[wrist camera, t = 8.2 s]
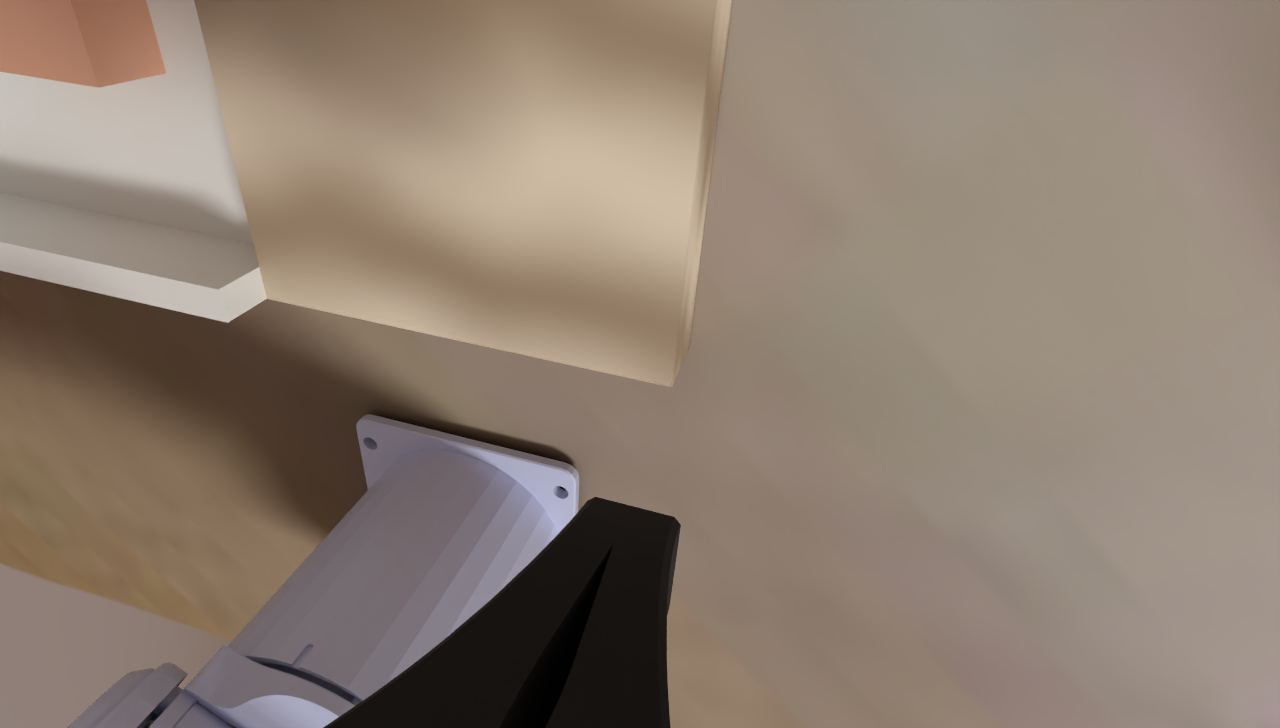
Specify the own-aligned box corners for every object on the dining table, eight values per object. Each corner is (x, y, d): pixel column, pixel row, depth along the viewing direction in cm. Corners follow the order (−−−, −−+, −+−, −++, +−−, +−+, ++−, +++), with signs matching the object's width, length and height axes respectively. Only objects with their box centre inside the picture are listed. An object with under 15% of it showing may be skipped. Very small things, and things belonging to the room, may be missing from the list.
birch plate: (688, 348, 20) (671, 387, 18) (312, 270, 22) (266, 298, 20) (797, -527, 11) (782, -605, 9) (157, -503, 13) (57, -561, 12)
